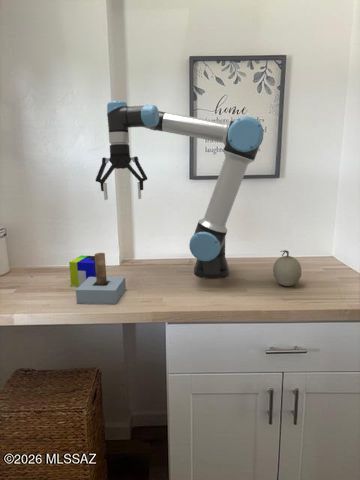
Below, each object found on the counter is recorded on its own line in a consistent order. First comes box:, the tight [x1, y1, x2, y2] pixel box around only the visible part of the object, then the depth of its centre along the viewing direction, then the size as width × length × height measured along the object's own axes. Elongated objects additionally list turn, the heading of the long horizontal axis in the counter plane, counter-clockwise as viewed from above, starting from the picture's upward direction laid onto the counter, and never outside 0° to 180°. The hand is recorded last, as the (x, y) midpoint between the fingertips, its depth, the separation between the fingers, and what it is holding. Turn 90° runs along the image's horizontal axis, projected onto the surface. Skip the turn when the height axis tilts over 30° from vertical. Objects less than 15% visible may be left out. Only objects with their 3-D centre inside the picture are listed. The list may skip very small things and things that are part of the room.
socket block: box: [75, 276, 126, 305], centre depth 128 cm, size 14×14×5 cm
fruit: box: [272, 249, 302, 287], centre depth 136 cm, size 10×12×15 cm
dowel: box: [93, 252, 107, 286], centre depth 126 cm, size 4×4×16 cm
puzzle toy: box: [68, 254, 96, 287], centre depth 142 cm, size 10×10×10 cm
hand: (122, 199), depth 140 cm, fingers open, 13 cm apart
